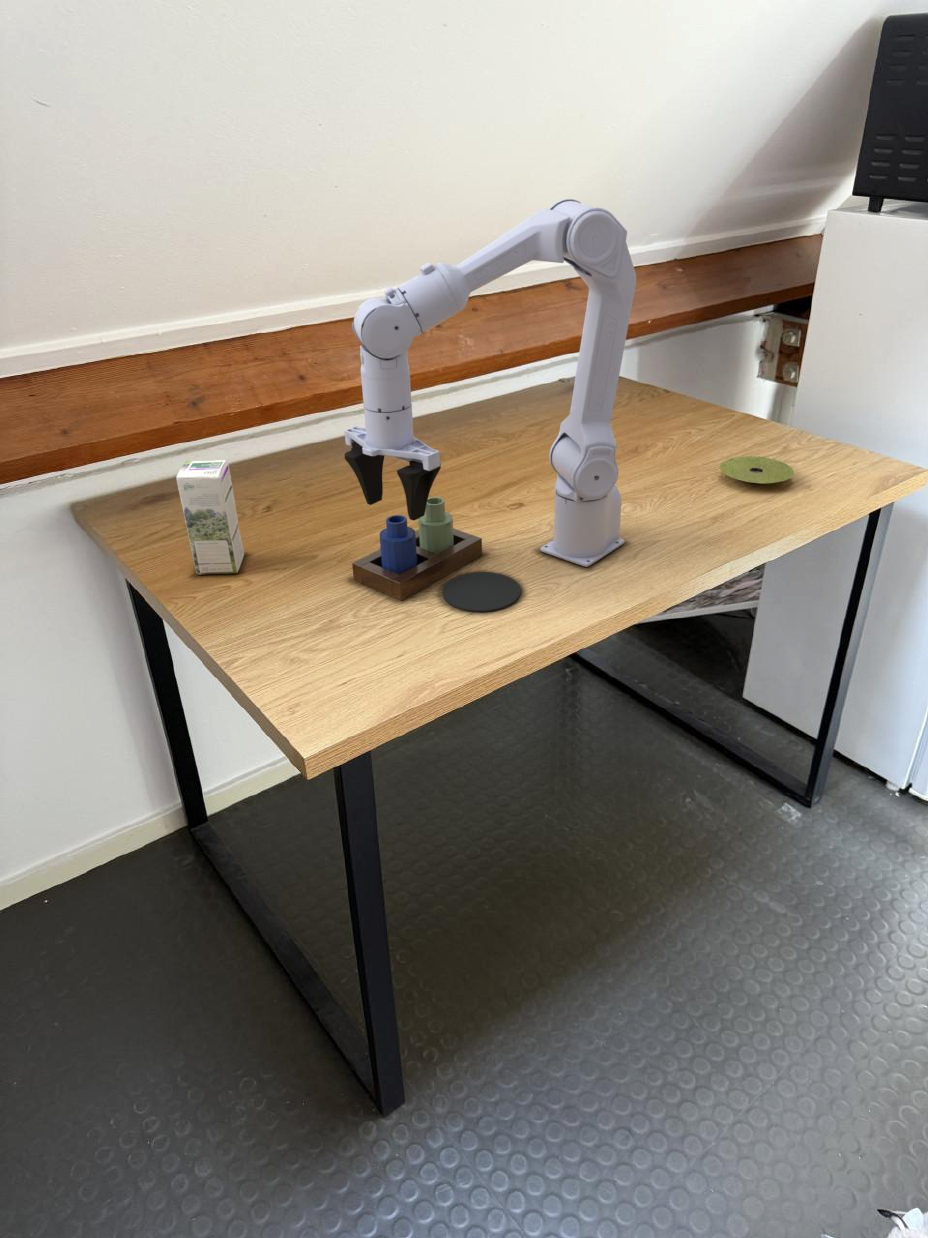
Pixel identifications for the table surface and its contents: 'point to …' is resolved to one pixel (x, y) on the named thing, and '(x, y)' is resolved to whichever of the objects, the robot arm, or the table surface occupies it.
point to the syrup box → (210, 516)
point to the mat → (756, 469)
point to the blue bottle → (398, 545)
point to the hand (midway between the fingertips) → (395, 509)
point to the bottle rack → (417, 567)
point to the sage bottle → (436, 527)
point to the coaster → (481, 592)
